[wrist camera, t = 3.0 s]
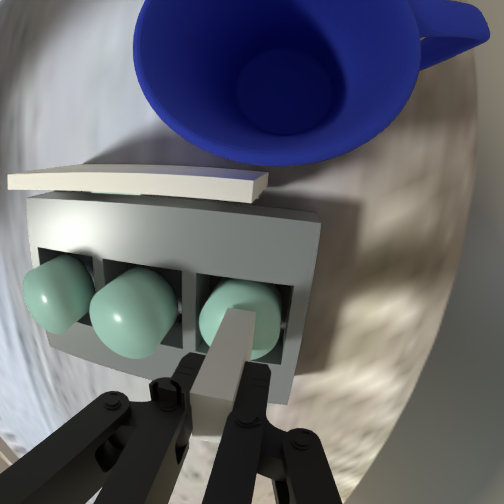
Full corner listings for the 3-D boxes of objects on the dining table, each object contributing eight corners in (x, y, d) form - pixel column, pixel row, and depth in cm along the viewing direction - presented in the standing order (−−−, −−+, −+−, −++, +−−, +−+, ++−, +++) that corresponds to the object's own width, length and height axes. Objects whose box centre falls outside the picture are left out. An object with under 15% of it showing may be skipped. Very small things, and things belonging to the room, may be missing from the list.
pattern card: (80, 179, 19) (8, 195, 12) (81, 164, 18) (7, 174, 12) (266, 191, 17) (250, 211, 11) (268, 172, 17) (253, 180, 11)
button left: (54, 306, 19) (30, 324, 16) (46, 250, 18) (17, 264, 15) (99, 319, 19) (75, 341, 16) (92, 259, 18) (63, 276, 15)
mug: (428, 136, 15) (539, 128, 6) (234, 178, 18) (167, 203, 8) (387, 15, 13) (449, -72, 4) (199, 54, 15) (115, -22, 6)
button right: (211, 327, 20) (198, 353, 17) (213, 265, 19) (199, 285, 16) (277, 337, 19) (274, 365, 17) (286, 275, 18) (285, 297, 15)
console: (69, 329, 23) (49, 346, 20) (52, 191, 19) (26, 197, 16) (288, 376, 21) (287, 405, 18) (316, 212, 17) (321, 223, 15)
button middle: (118, 324, 19) (95, 348, 16) (112, 262, 17) (84, 280, 15) (179, 338, 18) (162, 366, 15) (178, 273, 17) (157, 295, 14)
